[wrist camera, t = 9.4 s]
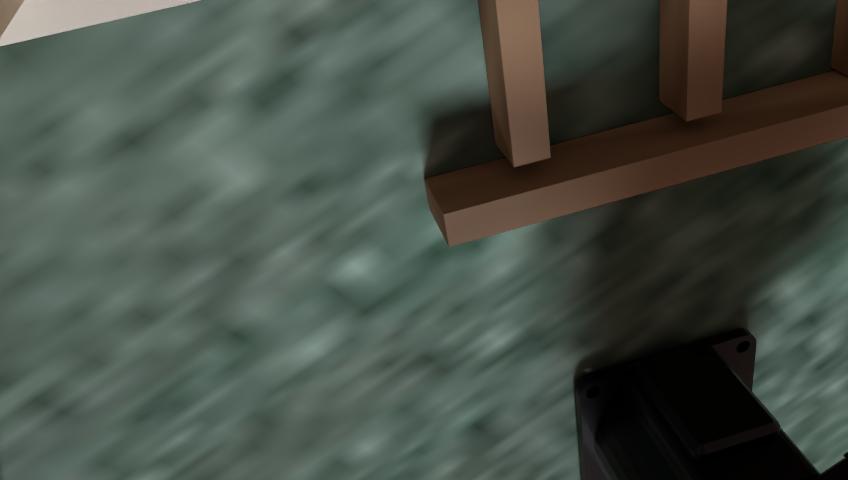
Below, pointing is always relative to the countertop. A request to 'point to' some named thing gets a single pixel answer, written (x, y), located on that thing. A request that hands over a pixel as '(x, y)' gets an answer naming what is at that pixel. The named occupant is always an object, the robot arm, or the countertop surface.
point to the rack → (628, 145)
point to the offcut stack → (840, 39)
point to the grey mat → (73, 15)
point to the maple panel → (8, 12)
